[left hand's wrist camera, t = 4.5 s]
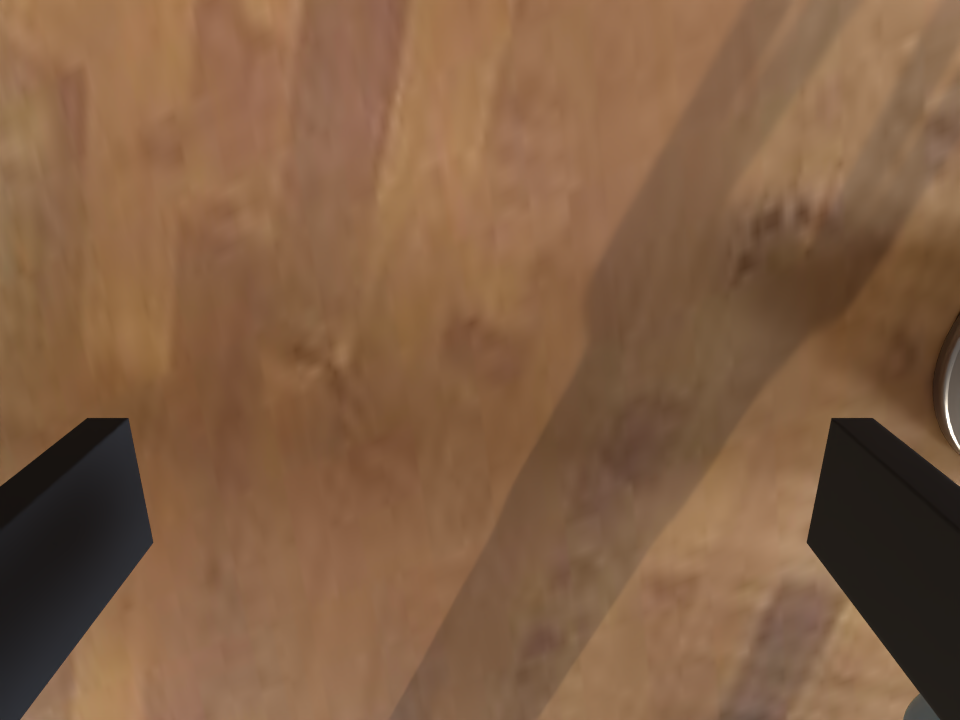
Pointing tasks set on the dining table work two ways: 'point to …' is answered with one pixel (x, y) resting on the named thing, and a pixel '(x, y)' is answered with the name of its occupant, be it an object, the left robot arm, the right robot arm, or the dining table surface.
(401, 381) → the dining table surface
